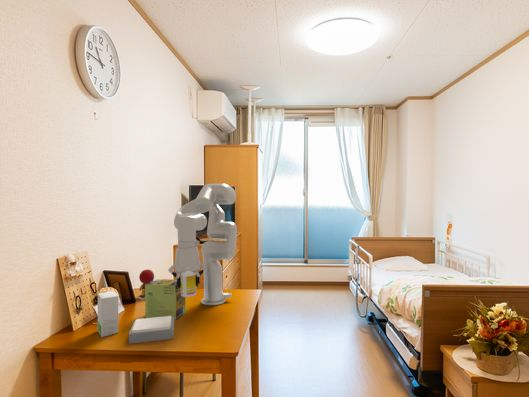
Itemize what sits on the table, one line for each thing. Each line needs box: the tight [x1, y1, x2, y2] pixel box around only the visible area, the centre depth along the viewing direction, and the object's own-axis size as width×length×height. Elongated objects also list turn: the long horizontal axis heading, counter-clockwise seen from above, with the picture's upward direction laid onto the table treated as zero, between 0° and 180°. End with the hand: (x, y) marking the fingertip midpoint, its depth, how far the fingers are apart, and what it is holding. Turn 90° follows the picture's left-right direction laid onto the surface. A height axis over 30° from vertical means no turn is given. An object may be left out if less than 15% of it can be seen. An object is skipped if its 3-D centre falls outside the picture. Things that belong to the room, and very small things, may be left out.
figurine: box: [136, 269, 155, 301], centre depth 183 cm, size 9×10×15 cm
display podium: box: [128, 316, 175, 345], centre depth 133 cm, size 16×14×4 cm
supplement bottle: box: [180, 267, 198, 298], centre depth 141 cm, size 7×7×13 cm
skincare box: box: [97, 290, 119, 338], centre depth 136 cm, size 8×7×16 cm
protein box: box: [144, 278, 187, 321], centre depth 155 cm, size 10×15×16 cm
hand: (188, 286), depth 141 cm, fingers closed on supplement bottle, 6 cm apart
